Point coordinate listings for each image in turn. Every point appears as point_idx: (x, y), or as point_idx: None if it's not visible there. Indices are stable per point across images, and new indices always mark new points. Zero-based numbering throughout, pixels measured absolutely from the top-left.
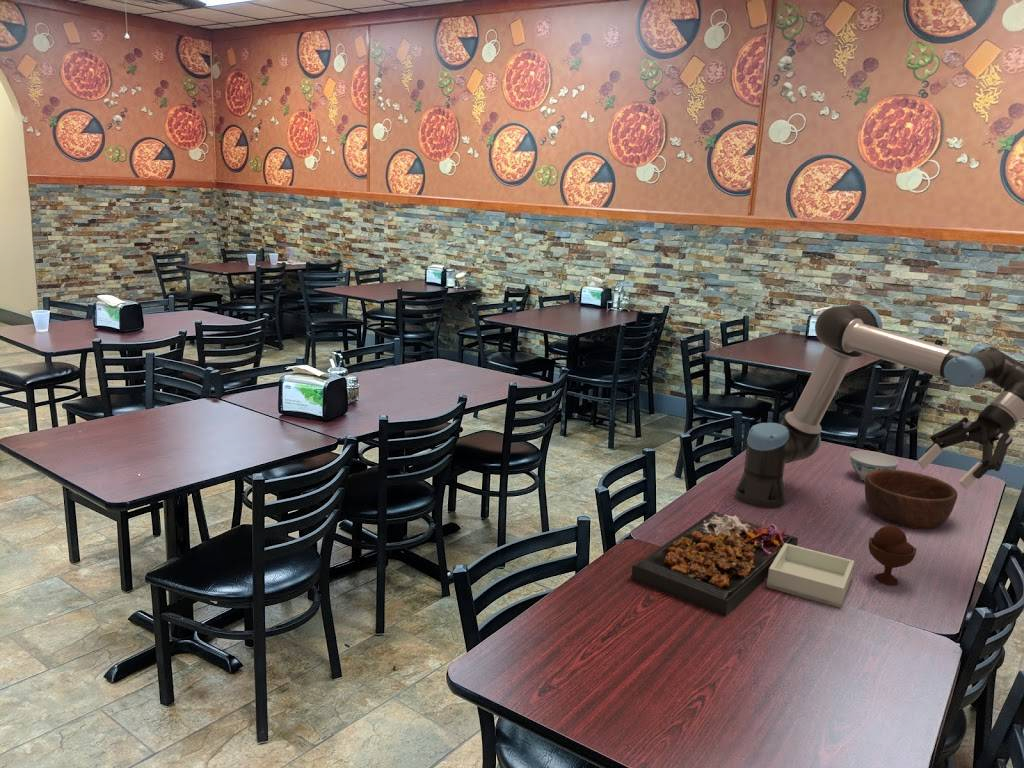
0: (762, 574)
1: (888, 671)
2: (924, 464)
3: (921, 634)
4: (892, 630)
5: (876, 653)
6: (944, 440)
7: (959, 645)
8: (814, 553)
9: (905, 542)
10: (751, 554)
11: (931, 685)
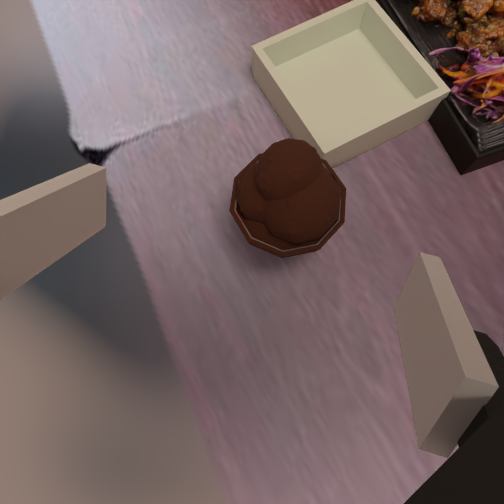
0: None
1: (107, 6)
2: (405, 299)
3: (130, 121)
4: (164, 92)
5: (141, 25)
6: (462, 447)
7: (77, 145)
8: (389, 113)
9: (253, 187)
10: (429, 4)
11: (56, 26)
